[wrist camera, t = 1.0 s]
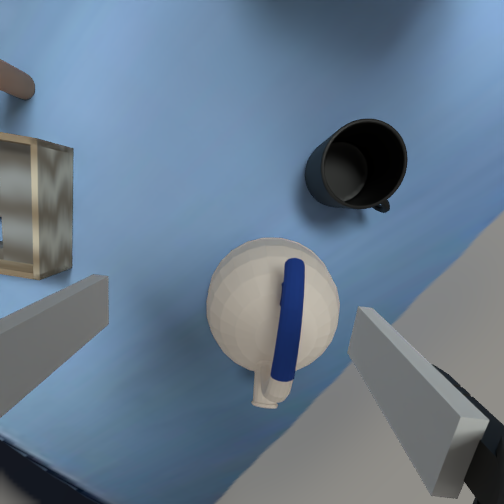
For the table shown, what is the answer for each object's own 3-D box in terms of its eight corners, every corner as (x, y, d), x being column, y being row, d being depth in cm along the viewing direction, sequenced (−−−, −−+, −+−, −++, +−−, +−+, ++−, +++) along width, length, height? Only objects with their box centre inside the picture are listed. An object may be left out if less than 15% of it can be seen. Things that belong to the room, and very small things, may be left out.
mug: (344, 232, 37) (371, 242, 29) (290, 173, 36) (302, 164, 27) (394, 187, 36) (439, 183, 27) (341, 123, 34) (371, 97, 25)
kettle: (202, 347, 42) (163, 455, 24) (215, 227, 38) (181, 252, 20) (319, 363, 42) (365, 481, 25) (346, 246, 38) (425, 287, 20)
